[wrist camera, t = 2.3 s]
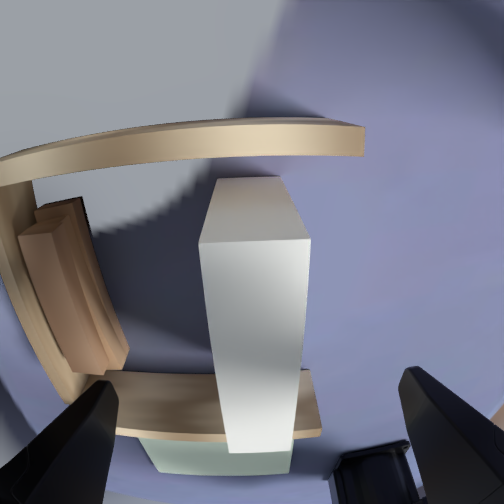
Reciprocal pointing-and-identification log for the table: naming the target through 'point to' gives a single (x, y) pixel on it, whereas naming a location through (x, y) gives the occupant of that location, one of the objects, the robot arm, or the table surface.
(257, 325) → the white block
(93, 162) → the rack
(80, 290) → the offcut stack
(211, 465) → the mat
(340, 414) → the table surface
